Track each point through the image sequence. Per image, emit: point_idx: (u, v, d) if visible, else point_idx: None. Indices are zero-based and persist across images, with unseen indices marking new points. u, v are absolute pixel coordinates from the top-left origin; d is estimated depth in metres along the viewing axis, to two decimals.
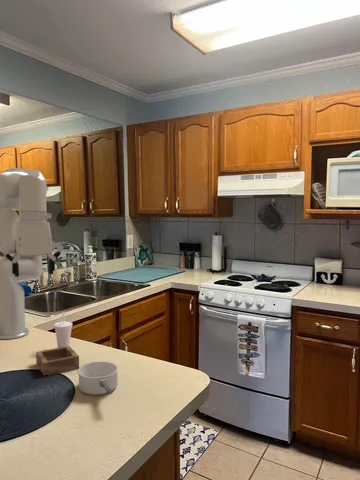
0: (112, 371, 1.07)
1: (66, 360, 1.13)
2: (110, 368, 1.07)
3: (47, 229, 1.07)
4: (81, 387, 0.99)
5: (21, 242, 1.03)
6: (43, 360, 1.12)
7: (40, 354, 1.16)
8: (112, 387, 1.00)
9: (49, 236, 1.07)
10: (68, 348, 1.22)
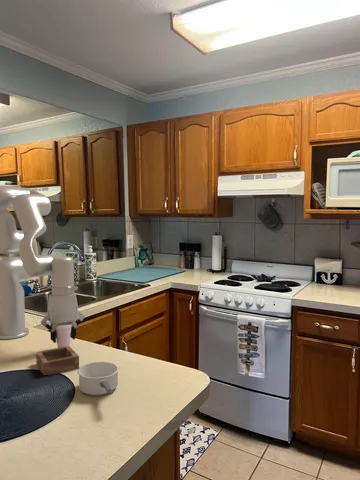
0: (112, 371, 1.07)
1: (66, 360, 1.13)
2: (111, 368, 1.07)
3: (74, 300, 1.30)
4: (81, 387, 0.99)
5: (54, 313, 1.26)
6: (43, 360, 1.12)
7: (40, 354, 1.16)
8: (112, 387, 1.00)
9: (76, 306, 1.30)
10: (68, 348, 1.22)
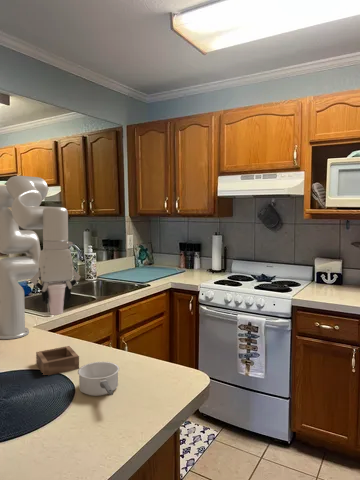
0: (113, 372, 1.06)
1: (66, 360, 1.13)
2: (111, 368, 1.07)
3: (69, 257, 1.15)
4: (81, 388, 0.99)
5: (45, 269, 1.11)
6: (43, 360, 1.12)
7: (40, 354, 1.16)
8: (113, 388, 1.00)
9: (70, 263, 1.15)
10: (68, 348, 1.22)
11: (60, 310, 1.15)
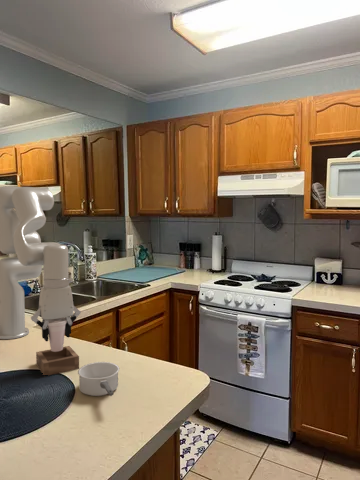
0: (113, 372, 1.06)
1: (66, 360, 1.13)
2: (111, 369, 1.07)
3: (69, 294, 1.16)
4: (82, 388, 0.99)
5: (45, 308, 1.12)
6: (43, 360, 1.12)
7: (40, 354, 1.16)
8: (113, 388, 1.00)
9: (71, 300, 1.16)
10: (68, 348, 1.22)
11: (60, 347, 1.16)
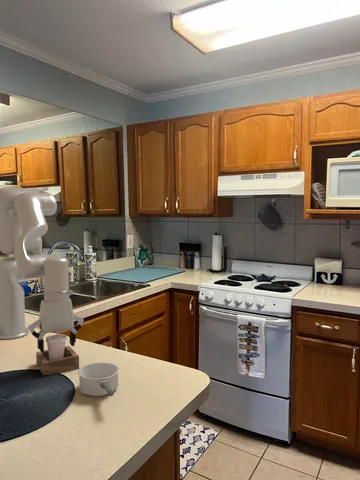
0: (113, 372, 1.06)
1: (66, 360, 1.13)
2: (111, 369, 1.07)
3: (69, 306, 1.16)
4: (82, 388, 0.98)
5: (46, 320, 1.12)
6: (43, 360, 1.12)
7: (40, 354, 1.16)
8: (113, 388, 0.99)
9: (71, 312, 1.16)
10: (68, 348, 1.22)
11: None
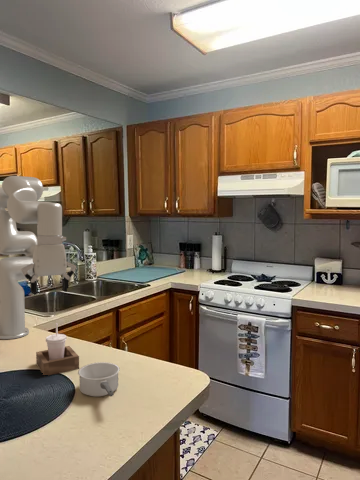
0: (113, 372, 1.06)
1: (66, 360, 1.13)
2: (111, 369, 1.06)
3: (62, 251, 1.18)
4: (82, 388, 0.98)
5: (39, 263, 1.14)
6: (43, 360, 1.12)
7: (40, 354, 1.16)
8: (113, 388, 0.99)
9: (64, 257, 1.18)
10: (68, 348, 1.22)
11: None
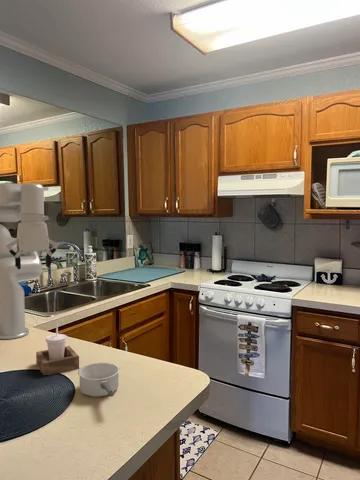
0: (113, 372, 1.06)
1: (66, 360, 1.13)
2: (111, 369, 1.06)
3: (44, 229, 1.26)
4: (82, 389, 0.98)
5: (22, 240, 1.23)
6: (43, 360, 1.12)
7: (40, 354, 1.16)
8: (113, 389, 0.99)
9: (46, 235, 1.27)
10: (68, 348, 1.22)
11: None
